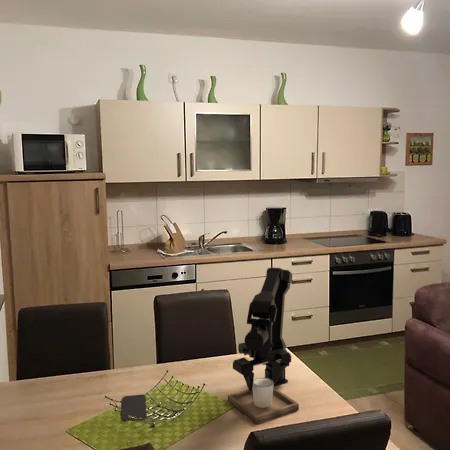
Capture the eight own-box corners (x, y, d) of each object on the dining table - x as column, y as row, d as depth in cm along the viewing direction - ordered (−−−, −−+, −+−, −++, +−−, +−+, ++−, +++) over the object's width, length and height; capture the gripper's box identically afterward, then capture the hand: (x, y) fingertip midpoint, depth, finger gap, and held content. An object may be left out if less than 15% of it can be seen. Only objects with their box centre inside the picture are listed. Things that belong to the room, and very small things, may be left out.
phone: (121, 420, 141) (122, 396, 156) (121, 423, 141) (122, 398, 156) (146, 417, 143) (145, 394, 157) (146, 420, 143) (145, 396, 157)
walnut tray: (268, 389, 161) (268, 383, 161) (298, 409, 147) (298, 403, 147) (227, 401, 153) (227, 395, 152) (255, 424, 139) (255, 417, 139)
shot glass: (272, 409, 146) (272, 387, 145) (250, 407, 147) (250, 386, 146) (274, 398, 153) (274, 378, 152) (253, 397, 154) (253, 376, 153)
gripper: (271, 326, 159) (271, 371, 161) (223, 337, 149) (223, 384, 151) (292, 336, 149) (292, 384, 151) (242, 348, 140) (242, 398, 142)
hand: (262, 387), depth 149 cm, fingers open, 9 cm apart
